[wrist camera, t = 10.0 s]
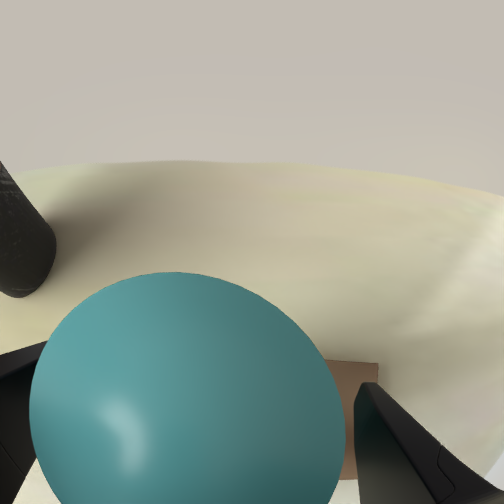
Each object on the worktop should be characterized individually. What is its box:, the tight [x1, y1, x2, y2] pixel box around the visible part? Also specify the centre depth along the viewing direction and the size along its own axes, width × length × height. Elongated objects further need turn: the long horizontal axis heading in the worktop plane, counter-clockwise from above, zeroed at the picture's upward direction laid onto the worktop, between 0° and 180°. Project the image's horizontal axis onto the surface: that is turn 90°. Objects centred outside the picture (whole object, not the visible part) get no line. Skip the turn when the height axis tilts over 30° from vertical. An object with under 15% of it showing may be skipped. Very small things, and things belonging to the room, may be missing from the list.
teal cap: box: [29, 272, 346, 504], centre depth 9 cm, size 6×6×12 cm
